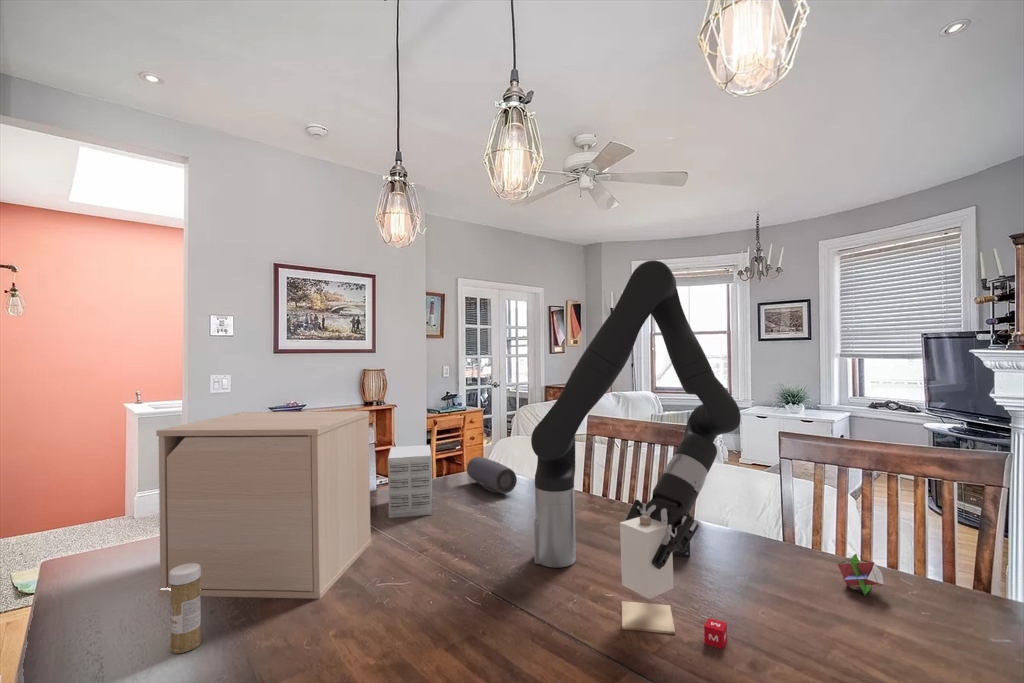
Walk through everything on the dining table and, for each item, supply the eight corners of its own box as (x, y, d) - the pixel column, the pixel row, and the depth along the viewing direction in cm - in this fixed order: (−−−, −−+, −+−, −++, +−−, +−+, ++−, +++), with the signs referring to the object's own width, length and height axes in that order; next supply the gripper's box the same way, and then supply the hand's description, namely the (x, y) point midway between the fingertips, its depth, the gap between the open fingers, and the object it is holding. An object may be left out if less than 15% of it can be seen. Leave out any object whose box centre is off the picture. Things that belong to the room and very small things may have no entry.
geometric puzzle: (824, 575, 102) (851, 551, 98) (836, 565, 107) (862, 542, 103) (858, 607, 98) (887, 583, 94) (868, 596, 102) (896, 572, 98)
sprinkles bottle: (166, 648, 85) (165, 568, 85) (196, 635, 89) (195, 559, 89) (175, 658, 82) (174, 576, 82) (205, 645, 86) (204, 566, 86)
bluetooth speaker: (518, 494, 170) (518, 465, 170) (494, 499, 165) (494, 469, 165) (488, 480, 189) (487, 453, 190) (465, 483, 185) (465, 456, 185)
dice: (704, 643, 83) (704, 625, 83) (708, 635, 86) (708, 617, 86) (723, 649, 82) (723, 631, 82) (727, 640, 84) (726, 622, 84)
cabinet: (158, 595, 104) (156, 430, 104) (243, 541, 133) (242, 412, 133) (320, 598, 101) (317, 428, 102) (371, 542, 130) (369, 410, 130)
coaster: (621, 628, 88) (621, 626, 88) (621, 603, 97) (621, 601, 97) (675, 634, 86) (675, 631, 86) (670, 607, 95) (670, 605, 95)
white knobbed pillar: (648, 599, 87) (646, 525, 87) (621, 584, 93) (619, 516, 93) (673, 588, 91) (671, 518, 91) (646, 575, 96) (643, 509, 96)
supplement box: (391, 501, 165) (390, 446, 165) (431, 498, 168) (430, 444, 168) (387, 518, 148) (386, 457, 148) (432, 515, 151) (431, 455, 151)
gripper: (642, 465, 102) (601, 536, 95) (703, 479, 90) (661, 562, 83) (661, 486, 105) (622, 557, 98) (722, 503, 93) (683, 585, 86)
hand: (640, 559), depth 91 cm, fingers closed on white knobbed pillar, 6 cm apart
